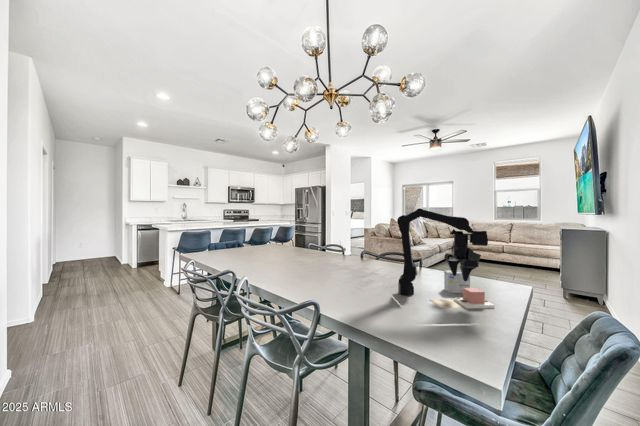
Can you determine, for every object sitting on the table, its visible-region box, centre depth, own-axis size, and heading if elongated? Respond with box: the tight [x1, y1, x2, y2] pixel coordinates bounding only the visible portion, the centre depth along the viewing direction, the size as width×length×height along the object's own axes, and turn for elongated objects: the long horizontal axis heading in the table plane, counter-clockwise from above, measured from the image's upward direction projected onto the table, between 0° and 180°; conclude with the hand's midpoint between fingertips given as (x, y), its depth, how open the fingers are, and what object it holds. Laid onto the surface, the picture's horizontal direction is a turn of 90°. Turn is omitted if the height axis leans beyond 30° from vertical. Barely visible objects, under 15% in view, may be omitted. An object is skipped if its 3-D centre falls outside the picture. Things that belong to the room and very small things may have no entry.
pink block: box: [462, 287, 486, 304], centre depth 118 cm, size 6×6×5 cm
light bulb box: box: [443, 269, 471, 294], centre depth 137 cm, size 11×7×11 cm, turn 84°
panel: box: [453, 296, 496, 309], centre depth 118 cm, size 12×10×2 cm
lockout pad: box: [429, 299, 464, 309], centre depth 118 cm, size 10×10×1 cm
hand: (459, 278), depth 123 cm, fingers open, 9 cm apart
